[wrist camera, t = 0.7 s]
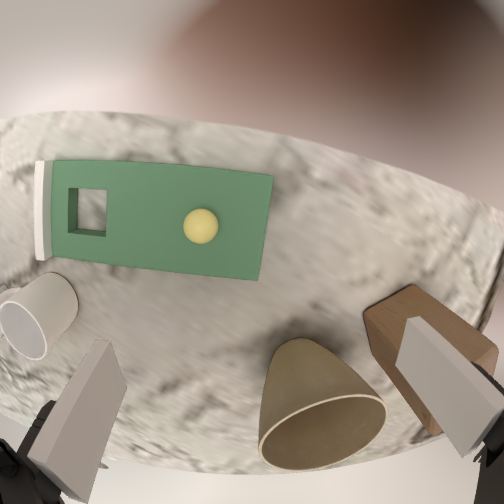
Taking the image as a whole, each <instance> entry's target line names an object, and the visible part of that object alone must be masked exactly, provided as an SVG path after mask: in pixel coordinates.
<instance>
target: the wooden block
mask: <svg viewBox="0 0 504 504" xmlns="http://www.w3.org/2000/svg"><path fill="white" fill-rule="evenodd" d="M418 316H420V317H421V318H422V319H424V320H425V321H426V322H427V323H428V324H429V325H430V326H431V327H433V328H434V329H435V330H436V331H437V332H438V333H439V334H440V335H441V336H443V337H444V338H445V339H446V340H447V341H448V342H449V343H450V344H451V345H452V346H453V347H454V348H456V349H457V350H458V351H459V352H460V353H461V354H462V355H463V356H464V357H465V358H466V359H467V360H468V361H469V362H474V363H476V364H478V365H480V366H481V367H482V368H483V369H485V370H486V371H487V372H488V375H491V376H492V377H493V374H494V370H495V367H496V362H497V358H498V354H499V351H498V348H497V346H496V345H495V344H494V343H493V342H492V341H490V340H489V339H488V338H487V337H485V336H484V335H483V334H482V333H480V332H479V331H478V330H476V329H475V328H474V327H472V326H471V325H470V324H469V323H467V322H466V321H465V320H463V319H462V318H461V317H459V316H458V315H456V314H455V313H454V312H452V311H451V310H450V309H448V308H447V307H446V306H444V305H443V304H441V303H440V302H439V301H437V300H436V299H434V298H433V297H432V296H430V295H429V294H427V293H426V292H424V291H423V290H422V289H420V288H419V287H417V286H416V285H410V286H408V287H406V288H405V289H403V290H401V291H400V292H398V293H396V294H394V295H393V296H391V297H389V298H387V299H385V300H384V301H382V302H380V303H378V304H376V305H374V306H373V307H371V308H369V309H367V310H366V311H365V312H364V320H365V324H366V328H367V333H368V337H369V341H370V346H371V350H372V355H373V356H374V358H375V359H376V360H377V362H378V363H379V364H380V366H381V367H382V369H383V370H384V371H385V373H386V374H387V375H388V377H389V378H390V379H391V381H392V382H393V383H394V385H395V386H396V388H397V389H398V390H399V392H400V393H401V394H402V396H403V397H404V399H405V400H406V401H407V403H408V404H409V406H410V407H411V408H412V410H413V411H414V413H415V414H416V415H417V417H418V418H419V420H420V421H421V422H422V424H423V425H424V427H425V428H426V430H427V431H428V432H429V433H430V434H431V435H433V436H434V435H437V434H439V433H440V432H442V431H443V430H442V428H441V427H440V425H439V424H438V423H437V421H436V420H435V418H434V417H433V415H432V414H431V413H430V411H429V410H428V409H427V407H426V406H425V404H424V403H423V402H422V400H421V399H420V398H419V396H418V395H417V394H416V392H415V391H414V389H413V388H412V387H411V385H410V384H409V383H408V381H407V380H406V379H405V377H404V376H403V375H402V373H401V372H400V371H399V370H398V368H397V367H396V366H395V364H396V361H397V357H398V354H399V350H400V346H401V343H402V339H403V335H404V331H405V327H406V322H407V319H408V318H413V317H418Z"/></svg>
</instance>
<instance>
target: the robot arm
mask: <svg viewBox="0 0 504 504" xmlns="http://www.w3.org/2000/svg"><path fill="white" fill-rule="evenodd" d="M395 366H396V367H397V368H398V370H399V371H400V372H401V373H402V375H403V376H404V377H405V379H406V380H407V381H408V383H409V384H410V385H411V387H412V388H413V389H414V391H415V392H416V394H417V395H418V396H419V398H420V399H421V400H422V402H423V403H424V404H425V406H426V407H427V409H428V410H429V411H430V413H431V414H432V415H433V417H434V418H435V420H436V421H437V423H438V424H439V425H440V427H441V428H442V430H443V431H444V432H445V434H446V435H447V437H448V438H449V439H450V441H451V442H452V444H453V445H454V447H455V448H456V450H457V451H458V453H459V454H460V456H461V457H462V458H464V457H465V456H467V455H468V454H470V453H472V452H473V451H475V450H476V449H477V447H478V446H479V445H480V443H481V442H482V441H483V442H484V443H485V446H484V447H483V448H482V449H481V450H480V452H479V453H478V454H477V455H476V456H475V458H474V460H473V462H476V460H477V459H478V458H479V457H480V456H481V459H480V460H479V461H478V462H480V463H481V464H480V472H479V478H478V485H477V490H476V495H475V500H474V504H504V388H503V387H502V386H501V385H500V384H499V383H498V382H497V381H496V380H495V381H494V378H493V377H492V376H491V375H488V372H487V371H486V370H485V369H483V368H482V367H481V366H480V365H478V364H476V363H474V362H469V361H468V360H467V359H466V358H465V357H464V356H463V355H462V354H461V353H460V352H459V351H458V350H457V349H456V348H454V347H453V346H452V345H451V344H450V343H449V342H448V341H447V340H446V339H445V338H444V337H443V336H441V335H440V334H439V333H438V332H437V331H436V330H435V329H434V328H433V327H431V326H430V325H429V324H428V323H427V322H426V321H425V320H424V319H422V318H421V317H420V316H418V317H413V318H408V319H407V322H406V327H405V331H404V335H403V339H402V343H401V346H400V350H399V354H398V357H397V361H396V364H395ZM126 390H127V386H126V384H125V381H124V378H123V376H122V373H121V370H120V367H119V365H118V362H117V359H116V356H115V353H114V350H113V347H112V344H111V341H102V340H96V341H95V342H94V344H93V345H92V346H91V348H90V349H89V351H88V352H87V354H86V356H85V357H84V359H83V360H82V362H81V363H80V365H79V366H78V368H77V369H76V371H75V373H74V374H73V376H72V377H71V379H70V380H69V382H68V384H67V385H66V387H65V389H64V390H63V392H62V394H61V395H60V397H59V399H58V400H57V401H53V400H51V401H49V402H48V403H47V404H46V405H45V406H43V407H42V408H41V410H40V412H39V413H38V415H37V419H35V420H34V422H33V424H32V426H31V427H30V429H29V431H28V432H27V434H26V436H25V438H24V440H23V441H22V443H21V445H20V447H19V449H18V451H17V452H15V451H14V450H13V449H12V448H11V447H10V446H9V444H8V443H7V442H6V441H5V440H4V439H1V438H0V504H65V503H64V501H63V500H62V498H61V497H60V494H61V491H62V492H63V493H65V494H66V495H67V496H68V497H69V498H71V499H74V500H77V501H80V502H83V503H86V504H88V501H89V497H90V494H91V491H92V487H93V484H94V481H95V477H96V474H97V471H98V468H99V465H100V462H101V458H102V456H103V453H104V450H105V447H106V444H107V441H108V438H109V435H110V432H111V430H112V427H113V424H114V421H115V419H116V416H117V413H118V410H119V408H120V405H121V403H122V400H123V397H124V395H125V392H126Z"/></svg>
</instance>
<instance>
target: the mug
mask: <svg viewBox="0 0 504 504" xmlns="http://www.w3.org/2000/svg"><path fill="white" fill-rule="evenodd" d="M77 312H78V300H77V297H76V294H75V292H74V290H73V288H72V286H71V285H70V284H69V283H68V281H67V280H65V279H64V278H63V277H62V276H60V275H58V274H55V273H45V274H42V275H40V276H39V277H37V278H36V279H34V280H33V281H32V282H30V283H29V284H27V285H26V286H25V287H23V288H20V287H16V288H11V289H8V290H6V291H4V292H2V293H1V294H0V326H1V329H2V332H3V334H4V336H5V337H6V339H7V341H8V342H9V343H10V345H11V346H12V347H13V348H14V349H15V350H16V351H17V352H18V353H19V354H21V355H22V356H24V357H25V358H28V359H30V360H40V359H42V358H44V357H45V355H46V354H47V353H48V351H49V350H50V349H51V348H52V346H53V345H54V344H55V343H56V341H57V340H58V339H59V338H60V336H61V335H62V334H63V333H64V331H65V330H66V329H67V328H68V327H69V325H70V324H71V323H72V322H73V320H74V319H75V317H76V315H77Z"/></svg>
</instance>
